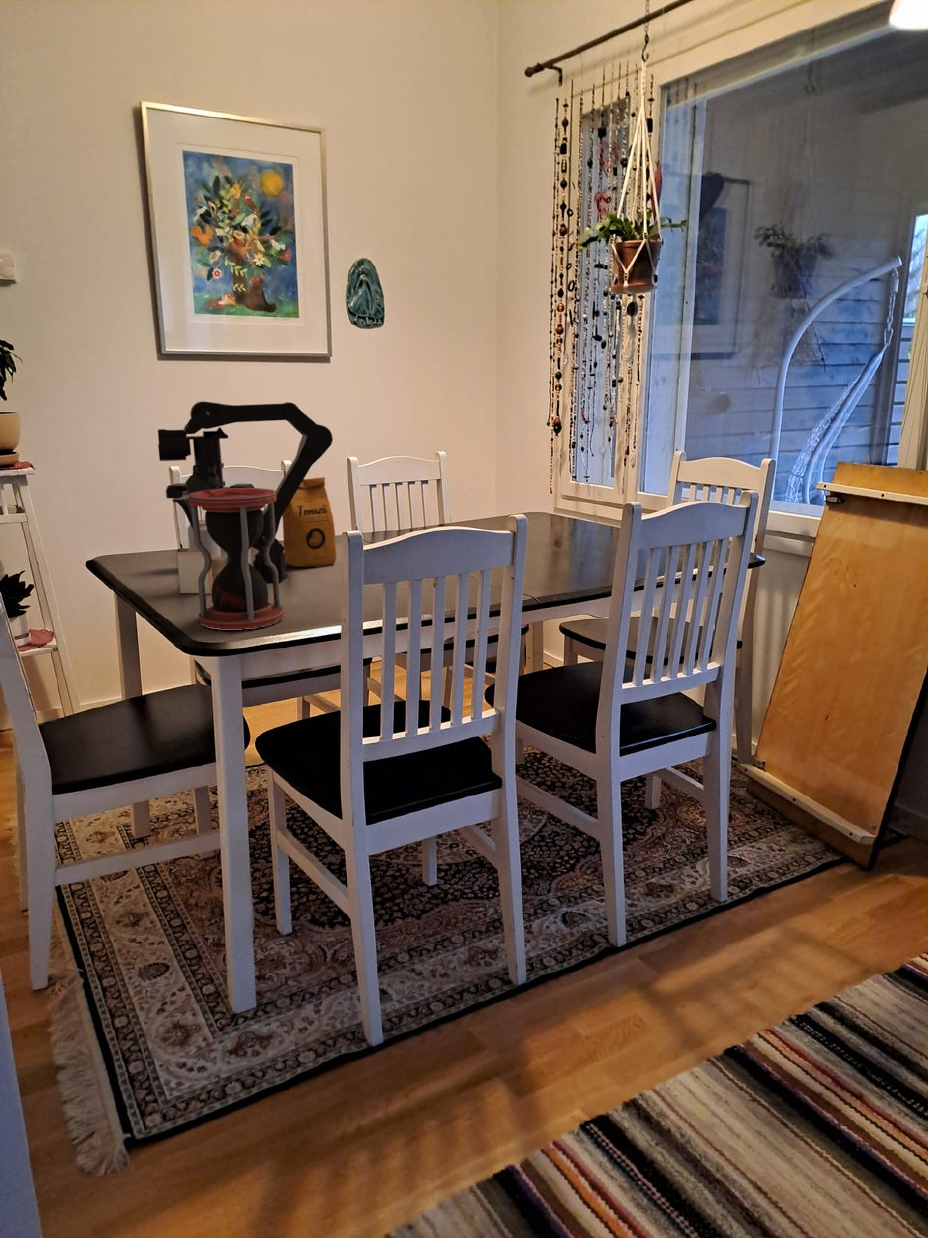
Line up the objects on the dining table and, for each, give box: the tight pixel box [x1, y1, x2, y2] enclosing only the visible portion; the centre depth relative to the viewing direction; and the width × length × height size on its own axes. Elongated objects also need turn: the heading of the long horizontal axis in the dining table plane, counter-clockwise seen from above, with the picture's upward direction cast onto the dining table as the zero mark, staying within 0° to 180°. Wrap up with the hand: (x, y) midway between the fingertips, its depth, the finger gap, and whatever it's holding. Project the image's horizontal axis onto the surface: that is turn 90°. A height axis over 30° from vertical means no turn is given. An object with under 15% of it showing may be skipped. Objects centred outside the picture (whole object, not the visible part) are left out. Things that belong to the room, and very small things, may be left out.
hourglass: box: [188, 487, 285, 629], centre depth 164 cm, size 16×16×25 cm
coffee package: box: [281, 476, 337, 568], centre depth 214 cm, size 10×12×22 cm
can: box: [186, 518, 222, 557], centre depth 212 cm, size 8×8×12 cm
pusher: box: [211, 556, 227, 582], centre depth 197 cm, size 4×4×6 cm
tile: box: [176, 551, 213, 593], centre depth 188 cm, size 7×2×9 cm, turn 85°
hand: (213, 529), depth 194 cm, fingers open, 9 cm apart
